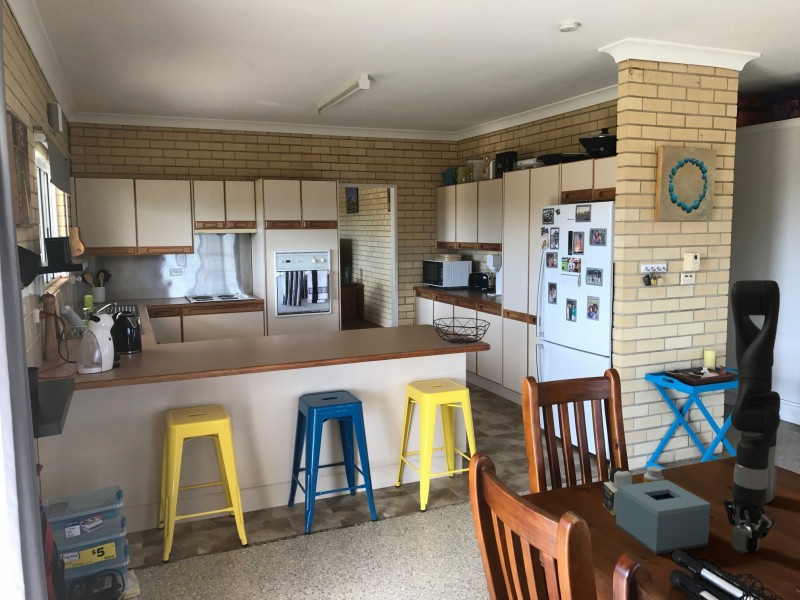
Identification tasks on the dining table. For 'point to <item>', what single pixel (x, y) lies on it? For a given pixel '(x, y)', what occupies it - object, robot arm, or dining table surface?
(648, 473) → the supplement bottle
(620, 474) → the medicine bottle
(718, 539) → the dining table surface
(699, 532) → the box
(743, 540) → the grey block
